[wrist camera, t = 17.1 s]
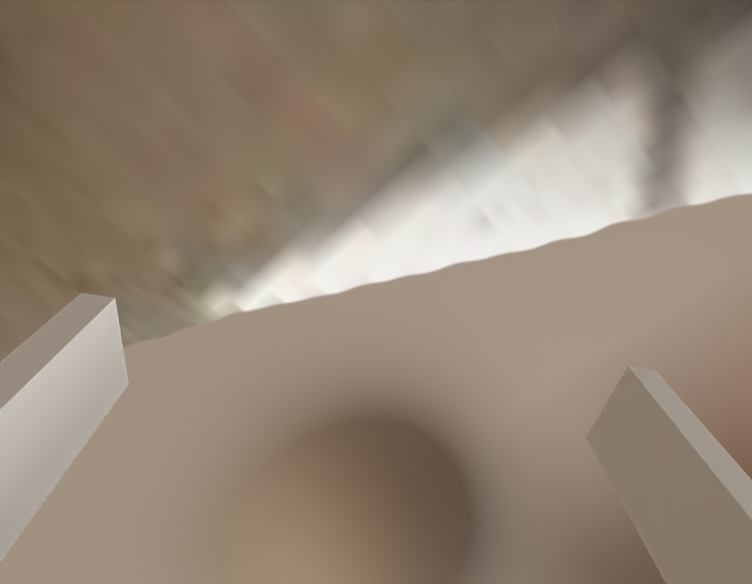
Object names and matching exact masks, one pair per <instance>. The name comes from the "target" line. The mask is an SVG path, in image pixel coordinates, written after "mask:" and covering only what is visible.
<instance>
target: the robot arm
mask: <svg viewBox="0 0 752 584" xmlns="http://www.w3.org/2000/svg"><path fill="white" fill-rule="evenodd" d="M127 386H128V378H127V371H126V365H125V358H124V352H123V346H122V339H121V333H120V326H119V320H118V314H117V307H116V301H115V298H113V297H106V296H98V295H91V294H83V293H81V294H80V295H79V296H77V297H76V298H75V299H74V300H73V301H72V302H70V303H69V304H68V305H67V306H66V307H64V308H63V309H62V310H61V311H60V312H59V313H57V314H56V315H55V316H54V317H53V318H51V319H50V320H49V321H48V322H47V323H46V324H44V325H43V326H42V327H41V328H40V329H38V330H37V331H36V332H35V333H34V334H33V335H31V336H30V337H29V338H28V339H27V340H25V341H24V342H23V343H22V344H21V345H20V346H18V347H17V348H16V349H15V350H14V351H12V352H11V353H10V354H9V355H8V356H7V357H5V358H4V359H3V360H2V361H1V362H0V562H1V560H2V559H3V557H4V556H5V555H6V554H7V552H8V551H9V549H10V548H11V547H12V545H13V544H14V542H15V541H16V540H17V538H18V537H19V536H20V534H21V533H22V531H23V530H24V529H25V527H26V526H27V524H28V523H29V522H30V520H31V519H32V517H33V516H34V515H35V513H36V512H37V511H38V509H39V508H40V506H41V505H42V504H43V502H44V501H45V499H46V498H47V497H48V495H49V494H50V492H51V491H52V490H53V488H54V487H55V486H56V484H57V483H58V481H59V480H60V479H61V477H62V476H63V475H64V473H65V472H66V470H67V469H68V468H69V466H70V465H71V463H72V462H73V461H74V459H75V458H76V457H77V455H78V454H79V452H80V451H81V450H82V448H83V447H84V445H85V444H86V443H87V441H88V440H89V439H90V437H91V436H92V434H93V433H94V432H95V430H96V429H97V428H98V426H99V425H100V423H101V422H102V421H103V419H104V418H105V416H106V415H107V414H108V412H109V411H110V409H111V408H112V407H113V405H114V404H115V402H116V401H117V400H118V398H119V397H120V396H121V394H122V393H123V391H124V390H125V389H126V387H127ZM587 440H588V442H589V444H590V446H591V447H592V449H593V451H594V453H595V455H596V457H597V459H598V460H599V462H600V464H601V466H602V468H603V469H604V471H605V473H606V475H607V477H608V479H609V480H610V482H611V484H612V486H613V488H614V489H615V491H616V493H617V495H618V496H619V498H620V500H621V502H622V504H623V506H624V507H625V509H626V511H627V513H628V515H629V517H630V519H631V520H632V522H633V524H634V526H635V528H636V529H637V531H638V533H639V535H640V537H641V539H642V540H643V542H644V544H645V546H646V548H647V550H648V551H649V553H650V555H651V557H652V559H653V560H654V562H655V564H656V566H657V568H658V569H659V571H660V573H661V575H662V577H663V579H664V580H665V582H666V584H752V480H751V479H750V478H749V476H748V475H747V474H746V473H745V472H744V471H743V470H742V468H741V467H740V466H739V465H738V464H737V463H736V462H735V461H734V459H733V458H732V457H731V456H730V455H729V454H728V453H727V451H726V450H725V449H724V448H723V447H722V446H721V445H720V443H719V442H718V441H717V440H716V439H715V438H714V437H713V436H712V434H711V433H710V432H709V431H708V430H707V429H706V428H705V426H704V425H703V424H702V423H701V422H700V421H699V420H698V418H697V417H696V416H695V415H694V414H693V413H692V412H691V410H690V409H689V408H688V407H687V406H686V405H685V404H684V402H683V401H682V400H681V399H680V398H679V397H678V396H677V394H675V392H674V391H673V390H672V389H671V388H670V386H668V385H667V383H666V382H665V381H664V380H663V379H662V377H661V376H660V375H659V374H658V373H657V372H656V371H655V370H650V369H644V368H636V367H628V368H627V370H626V371H625V373H624V375H623V376H622V378H621V380H620V382H619V383H618V385H617V386H616V388H615V390H614V392H613V393H612V395H611V397H610V398H609V400H608V402H607V404H606V405H605V407H604V408H603V410H602V412H601V414H600V415H599V417H598V419H597V420H596V422H595V424H594V426H593V427H592V429H591V430H590V432H589V434H588V436H587Z"/></svg>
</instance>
